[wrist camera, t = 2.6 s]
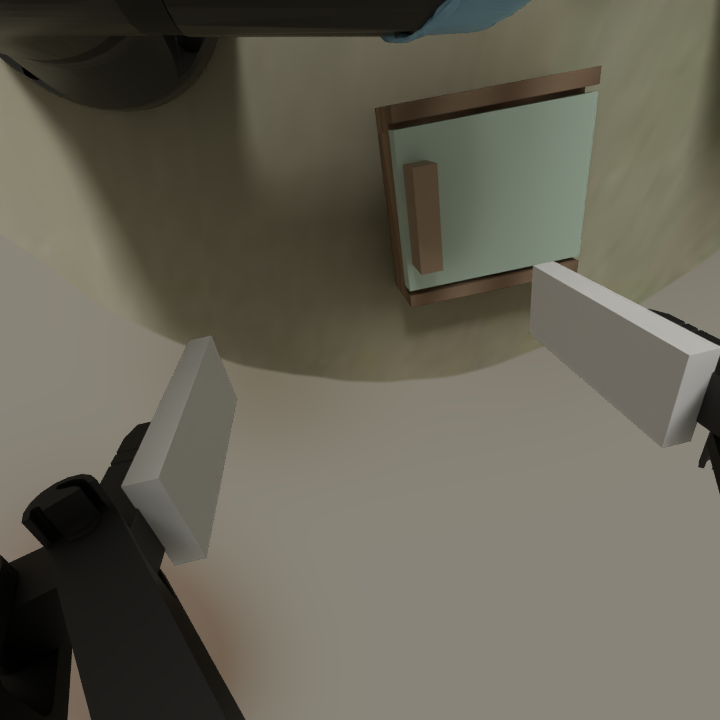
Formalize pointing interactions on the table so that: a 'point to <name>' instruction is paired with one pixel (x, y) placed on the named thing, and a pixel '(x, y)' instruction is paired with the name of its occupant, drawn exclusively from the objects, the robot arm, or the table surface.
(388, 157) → the box
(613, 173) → the table surface
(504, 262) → the cover plate
